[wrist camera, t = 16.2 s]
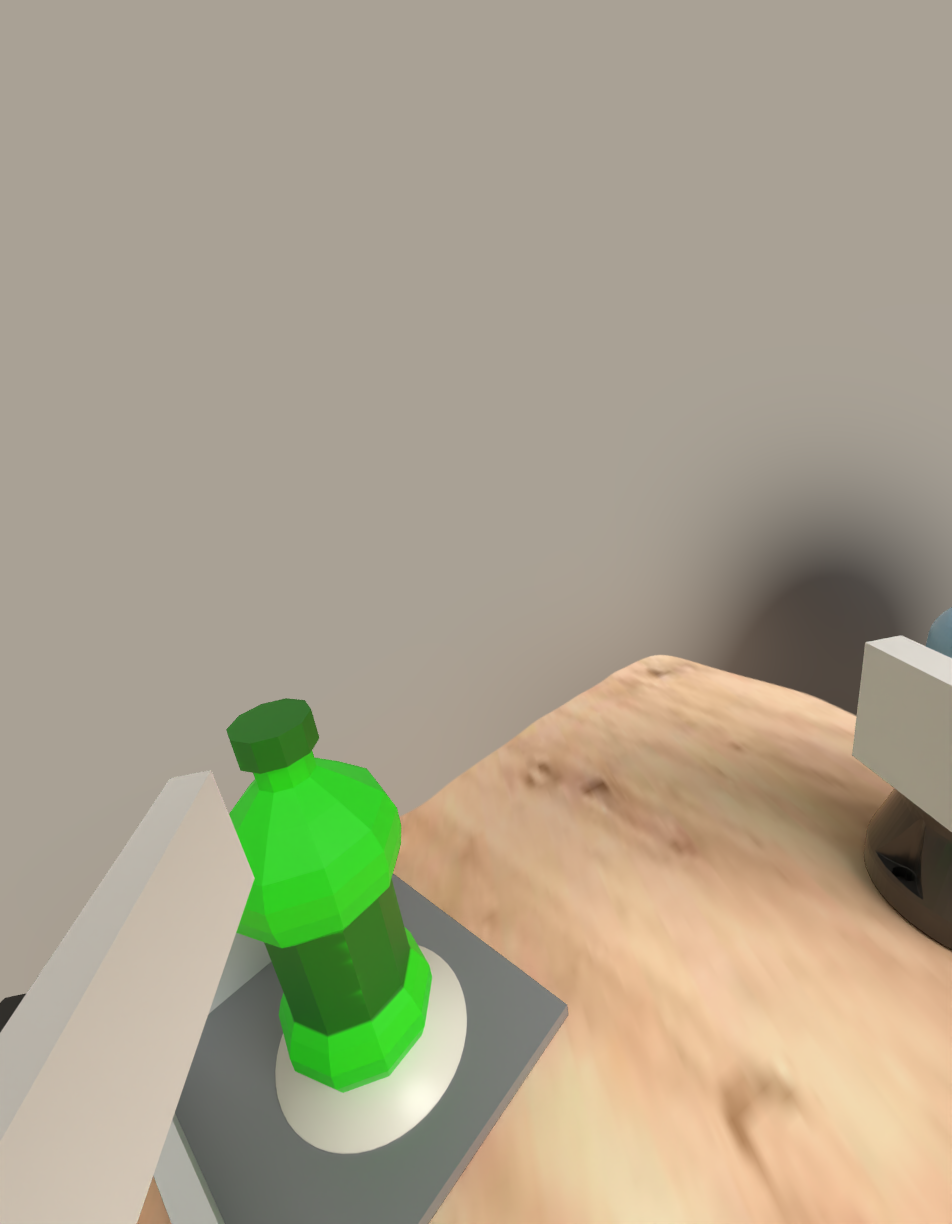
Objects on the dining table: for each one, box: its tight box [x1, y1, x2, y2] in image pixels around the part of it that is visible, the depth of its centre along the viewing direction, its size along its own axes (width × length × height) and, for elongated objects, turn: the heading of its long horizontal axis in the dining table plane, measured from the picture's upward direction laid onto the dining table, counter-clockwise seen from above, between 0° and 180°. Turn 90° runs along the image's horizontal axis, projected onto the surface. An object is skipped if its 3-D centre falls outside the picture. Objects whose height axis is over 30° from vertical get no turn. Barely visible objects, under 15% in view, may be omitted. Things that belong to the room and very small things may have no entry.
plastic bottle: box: [227, 699, 432, 1093], centre depth 32 cm, size 10×10×25 cm
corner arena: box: [153, 874, 568, 1224], centre depth 36 cm, size 22×22×6 cm
